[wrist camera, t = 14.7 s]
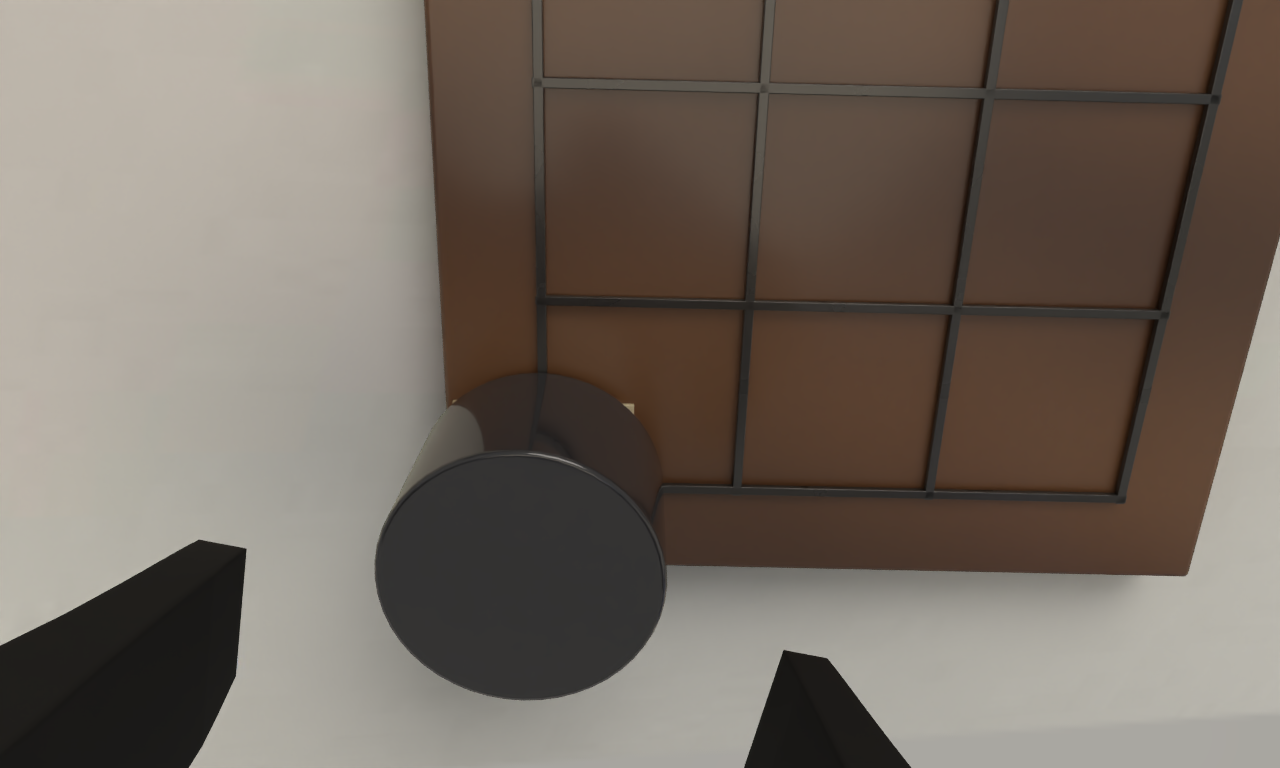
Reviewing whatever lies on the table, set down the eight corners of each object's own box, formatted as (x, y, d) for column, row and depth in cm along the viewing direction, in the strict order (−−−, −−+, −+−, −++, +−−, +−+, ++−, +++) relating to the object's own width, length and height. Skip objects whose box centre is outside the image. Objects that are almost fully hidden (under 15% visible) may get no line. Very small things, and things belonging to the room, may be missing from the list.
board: (1157, 545, 19) (1194, 583, 18) (464, 530, 19) (451, 567, 18) (1366, -273, 14) (1439, -302, 13) (423, -299, 14) (401, -331, 13)
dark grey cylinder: (697, 546, 18) (707, 655, 15) (481, 616, 18) (449, 735, 15) (610, 336, 16) (602, 409, 13) (377, 420, 17) (320, 508, 14)
